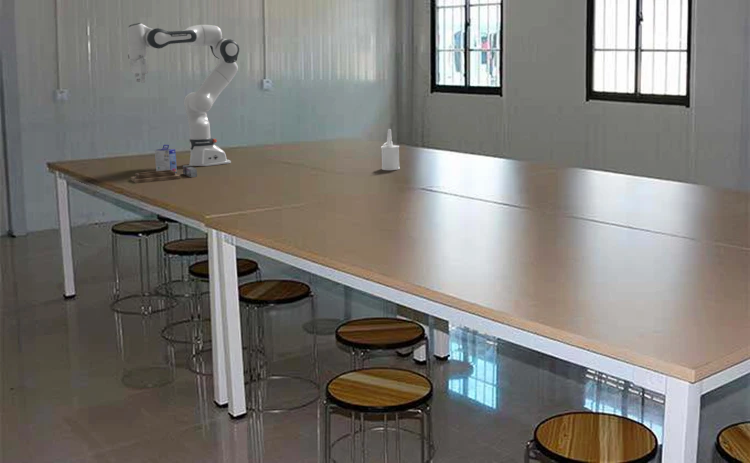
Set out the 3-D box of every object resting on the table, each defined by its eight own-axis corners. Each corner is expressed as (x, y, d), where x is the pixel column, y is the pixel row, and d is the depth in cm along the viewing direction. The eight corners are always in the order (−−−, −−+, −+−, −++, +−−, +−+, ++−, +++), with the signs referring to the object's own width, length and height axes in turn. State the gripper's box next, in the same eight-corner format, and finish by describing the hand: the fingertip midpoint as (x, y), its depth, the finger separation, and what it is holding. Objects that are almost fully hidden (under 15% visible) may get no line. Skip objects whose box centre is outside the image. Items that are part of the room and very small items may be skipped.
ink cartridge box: (177, 172, 470) (175, 144, 467) (170, 174, 465) (168, 145, 462) (163, 171, 475) (160, 144, 472) (155, 173, 470) (153, 145, 467)
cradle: (174, 175, 459) (174, 168, 458) (180, 178, 448) (180, 171, 448) (130, 179, 450) (130, 172, 449) (135, 183, 439) (135, 175, 438)
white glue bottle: (403, 169, 453) (402, 129, 449) (387, 171, 449) (386, 130, 444) (392, 166, 462) (391, 127, 458) (376, 168, 457) (375, 129, 453)
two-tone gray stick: (183, 174, 464) (182, 165, 463) (190, 173, 465) (189, 164, 464) (190, 177, 451) (189, 168, 450) (197, 176, 453) (197, 167, 452)
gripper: (149, 55, 462) (152, 82, 465) (139, 54, 480) (141, 81, 483) (137, 55, 459) (139, 83, 462) (127, 55, 477) (129, 82, 480)
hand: (140, 82), depth 473 cm, fingers open, 8 cm apart
